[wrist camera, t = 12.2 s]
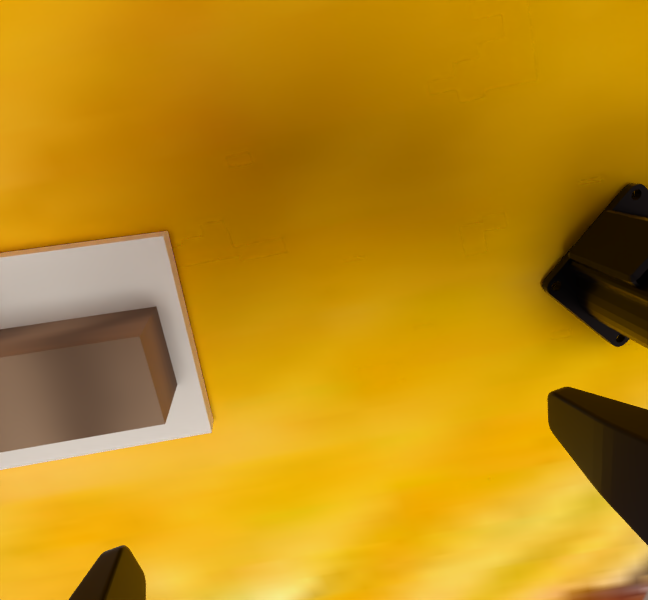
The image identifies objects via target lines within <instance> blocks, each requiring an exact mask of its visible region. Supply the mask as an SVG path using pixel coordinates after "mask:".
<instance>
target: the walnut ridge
mask: <svg viewBox="0 0 648 600" xmlns="http://www.w3.org/2000/svg"><path fill="white" fill-rule="evenodd" d="M176 387H177V381H176V377H175V374H174V370H173V366H172V363H171V359H170V355H169V351H168V348H167V344H166V340H165V337H164V333H163V329H162V325H161V322H160V318H159V314H158V310H157V307H156V306H155V307H149V308H142V309H135V310H128V311H121V312H115V313H108V314H101V315H94V316H88V317H81V318H74V319H67V320H61V321H54V322H47V323H40V324H34V325H27V326H20V327H13V328H6V329H0V453H1V452H7V451H12V450H18V449H24V448H30V447H36V446H41V445H47V444H53V443H59V442H64V441H70V440H76V439H82V438H88V437H93V436H99V435H105V434H111V433H116V432H122V431H128V430H134V429H140V428H145V427H151V426H157V425H163V424H165V423H166V420H167V417H168V414H169V410H170V407H171V404H172V401H173V397H174V394H175V391H176Z"/></svg>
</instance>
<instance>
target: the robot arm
mask: <svg viewBox="0 0 648 600" xmlns="http://www.w3.org/2000/svg"><path fill="white" fill-rule="evenodd" d="M634 191H635V194H634V196H633V197H632V193H633V192H634ZM555 282H556V285H555V286H554V287H553V288H552V285H553V283H555ZM542 286H543V290H544V291H545V292H546V293H547V294H549V295H550V296H551V297H552V298H554V299H555V300H556V301H557V302H559V303H560V304H561V305H562V306H564V307H565V308H566V309H567V310H569V311H570V312H571V313H572V314H574V315H575V316H576V317H577V318H579V319H580V320H581V321H582V322H584V323H585V324H586V325H587V326H589V327H590V328H591V329H592V330H594V331H595V332H596V333H597V334H599V335H600V336H601V337H602V338H604V339H605V340H606V341H607V342H609V343H611V344H612V345H614V346H616V347H620V346H622V345H624V344H625V343H626V342H627V341H628V340H629V339H632V340H633V341H635V342H637V343H639V344H641V345H642V346H644V347H646V348H648V189H647V188H646V187H645V186H643V185H642V184H636V183H631V184H628V185H627V186H625V187H624V188H623V189H622V191H621V192H620V193H619V194H618V195H617V196H616V197H615V199H614V200H613V201H612V202H611V203H610V204H609V206H608V207H607V208H606V209H605V210H604V211H603V212H602V214H601V215H600V216H599V217H598V218H597V219H596V221H595V222H594V223H593V224H592V225H591V226H590V227H589V229H588V230H587V231H586V232H585V233H584V234H583V236H582V237H581V238H580V239H579V240H578V241H577V243H576V244H575V245H574V246H573V247H572V248H571V249H570V251H569V252H568V253H567V254H566V255H565V256H564V258H563V259H562V260H561V261H560V262H559V263H558V264H557V266H556V267H555V268H554V269H553V270H552V271H551V273H550V274H549V275H548V276H547V277H546V278H545V280H544V281H543V285H542ZM617 336H618V338H617ZM548 423H549V426H550V429H551V431H552V433H553V434H554V435H555V437H556V438H557V439H558V441H559V442H560V443H561V444H562V446H563V447H564V448H565V450H566V451H567V452H568V453H569V455H570V456H571V457H572V459H573V460H574V461H575V463H576V464H577V465H578V466H579V468H580V469H581V470H582V472H583V473H584V474H585V476H586V477H587V478H588V479H589V481H590V482H591V483H592V485H593V486H594V487H595V488H596V489H597V491H598V492H599V493H600V494H601V495H602V497H603V498H604V499H605V500H606V501H607V502H608V503H609V504H610V505H611V507H612V508H613V509H614V510H615V511H616V512H617V513H618V514H619V515H620V516H621V517H622V518H623V519H624V520H625V522H626V523H627V524H628V525H629V526H630V527H631V528H632V529H633V530H634V531H635V532H636V533H637V534H638V535H639V537H640V538H641V539H642V540H643V541H644V542H645V543H646V544H647V545H648V410H647V409H643V408H640V407H637V406H633V405H630V404H626V403H623V402H619V401H616V400H613V399H609V398H606V397H602V396H599V395H595V394H592V393H589V392H585V391H582V390H578V389H575V388H571V387H563V388H560V389H557V390H554V391H552V392H550V393H549V395H548ZM69 600H146V582H145V576H144V573H143V571H142V569H141V567H140V566H139V564H138V562H137V561H136V559H135V557H134V556H133V554H132V552H131V551H130V549H129V548H128V547H127V546H125V545H123V546H119V547H116V548H113V549H111V550H108V551H105V552H104V553H102V554H101V555H100V557H99V558H98V559H97V561H96V562H95V563H94V565H93V566H92V568H91V569H90V570H89V572H88V573H87V575H86V576H85V577H84V579H83V580H82V582H81V583H80V584H79V586H78V587H77V589H76V590H75V591H74V593H73V594H72V596H71V597H70V598H69Z"/></svg>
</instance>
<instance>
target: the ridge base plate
mask: <svg viewBox="0 0 648 600" xmlns="http://www.w3.org/2000/svg"><path fill="white" fill-rule="evenodd" d="M155 306H156V307H157V310H158V314H159V318H160V322H161V325H162V329H163V333H164V337H165V340H166V344H167V348H168V351H169V355H170V359H171V363H172V366H173V370H174V374H175V377H176V381H177V387H176V391H175V394H174V397H173V401H172V404H171V407H170V410H169V414H168V417H167V420H166V423H165V424H163V425H157V426H151V427H145V428H140V429H134V430H128V431H122V432H116V433H111V434H105V435H99V436H93V437H88V438H82V439H76V440H70V441H64V442H59V443H53V444H47V445H41V446H36V447H30V448H24V449H18V450H12V451H7V452H1V453H0V470H2V469H8V468H14V467H19V466H25V465H31V464H36V463H42V462H48V461H53V460H59V459H65V458H70V457H76V456H82V455H87V454H93V453H99V452H104V451H110V450H116V449H121V448H127V447H133V446H138V445H144V444H150V443H155V442H161V441H167V440H172V439H178V438H184V437H189V436H195V435H201V434H206V433H212V427H213V416H212V412H211V408H210V404H209V400H208V396H207V392H206V387H205V383H204V379H203V375H202V371H201V367H200V362H199V358H198V354H197V350H196V346H195V342H194V338H193V333H192V329H191V325H190V321H189V317H188V313H187V309H186V304H185V300H184V296H183V292H182V288H181V284H180V280H179V275H178V271H177V267H176V263H175V259H174V255H173V251H172V246H171V242H170V238H169V234H168V231H162V232H154V233H147V234H139V235H132V236H124V237H116V238H109V239H101V240H94V241H86V242H79V243H71V244H63V245H56V246H48V247H41V248H33V249H26V250H18V251H10V252H3V253H0V329H6V328H13V327H20V326H27V325H34V324H40V323H47V322H54V321H61V320H67V319H74V318H81V317H88V316H94V315H101V314H108V313H115V312H121V311H128V310H135V309H142V308H149V307H155Z"/></svg>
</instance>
